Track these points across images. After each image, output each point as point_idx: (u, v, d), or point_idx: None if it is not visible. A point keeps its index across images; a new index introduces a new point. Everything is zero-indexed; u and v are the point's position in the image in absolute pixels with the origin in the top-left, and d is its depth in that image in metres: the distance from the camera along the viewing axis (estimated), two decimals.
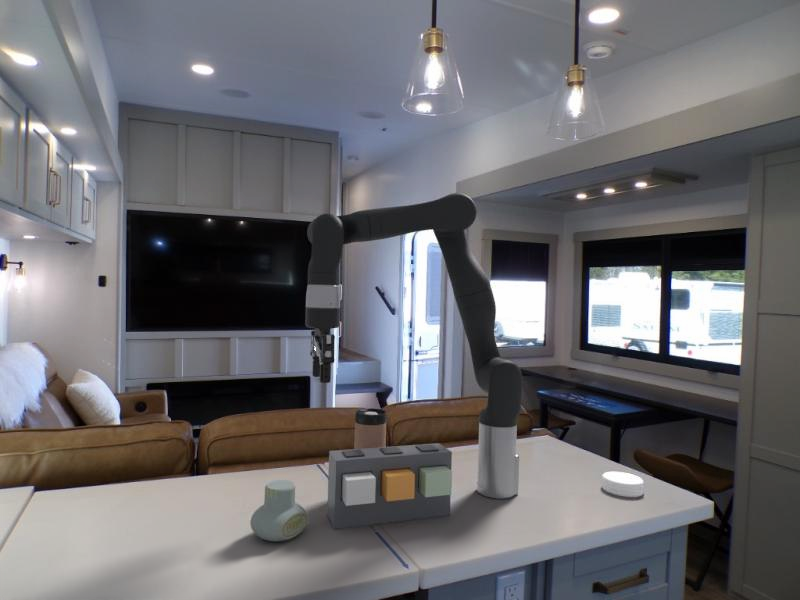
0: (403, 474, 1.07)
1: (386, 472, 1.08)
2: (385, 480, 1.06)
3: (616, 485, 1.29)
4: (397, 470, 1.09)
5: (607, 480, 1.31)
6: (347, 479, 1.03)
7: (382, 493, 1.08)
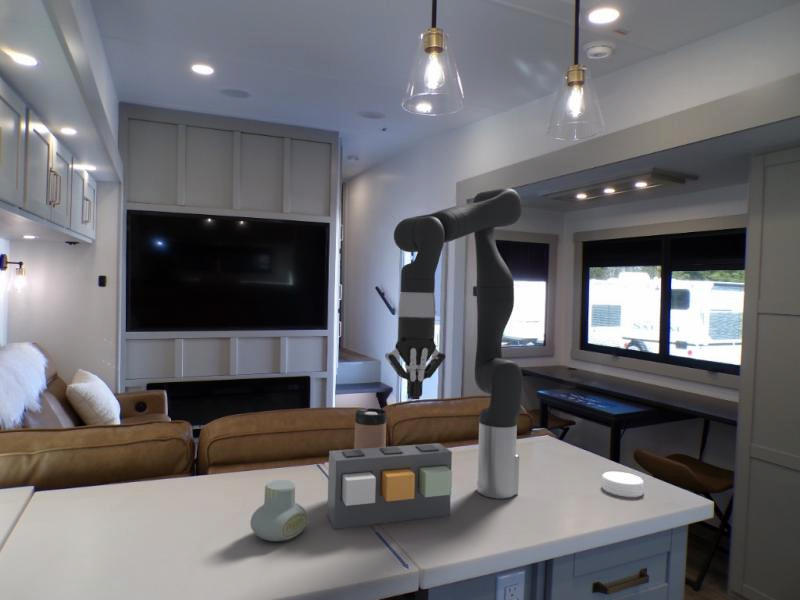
0: (403, 474, 1.07)
1: (386, 472, 1.08)
2: (385, 480, 1.06)
3: (616, 485, 1.29)
4: (397, 470, 1.09)
5: (607, 480, 1.31)
6: (347, 479, 1.03)
7: (382, 493, 1.08)
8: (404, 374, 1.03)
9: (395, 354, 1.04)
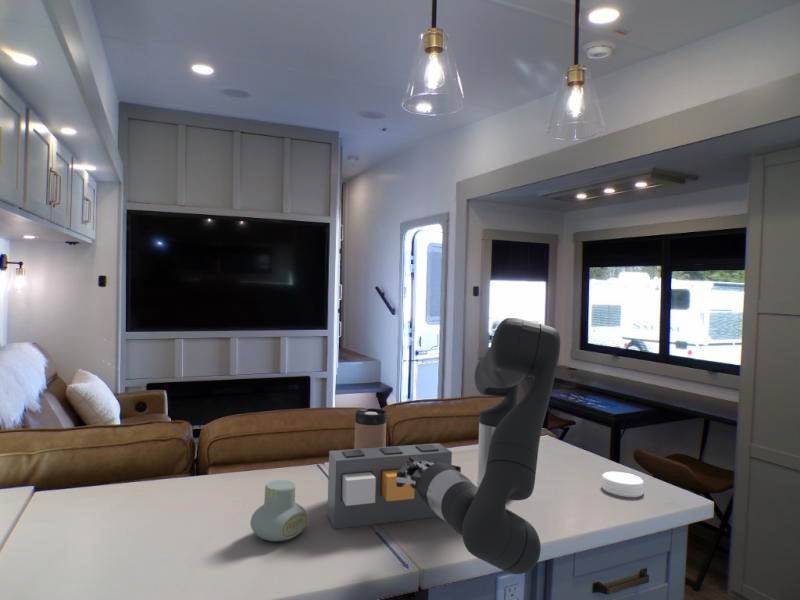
0: None
1: (386, 472, 1.08)
2: (385, 480, 1.06)
3: (616, 485, 1.29)
4: (397, 470, 1.09)
5: (607, 480, 1.31)
6: (347, 479, 1.03)
7: (382, 493, 1.08)
8: None
9: None
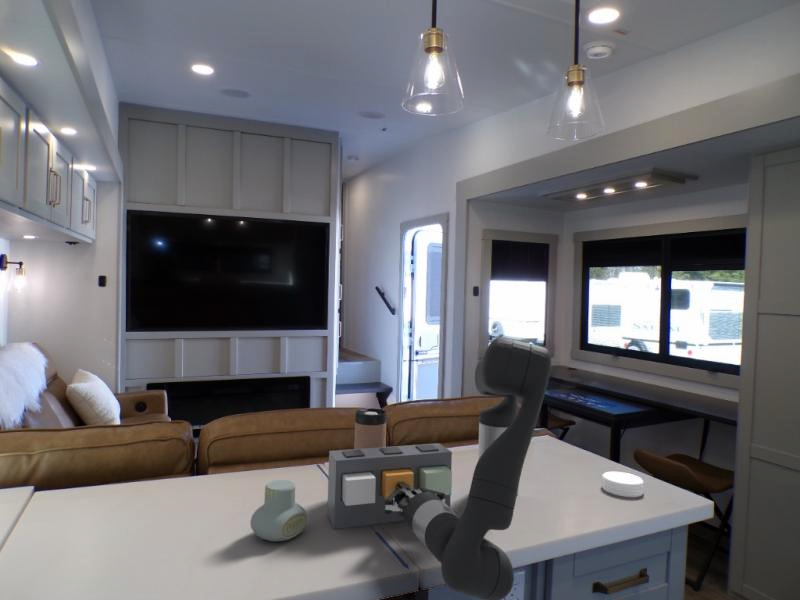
0: (402, 473, 1.07)
1: (385, 471, 1.08)
2: (384, 478, 1.07)
3: (616, 485, 1.29)
4: (395, 469, 1.10)
5: (607, 480, 1.31)
6: (347, 479, 1.03)
7: (381, 492, 1.08)
8: None
9: None
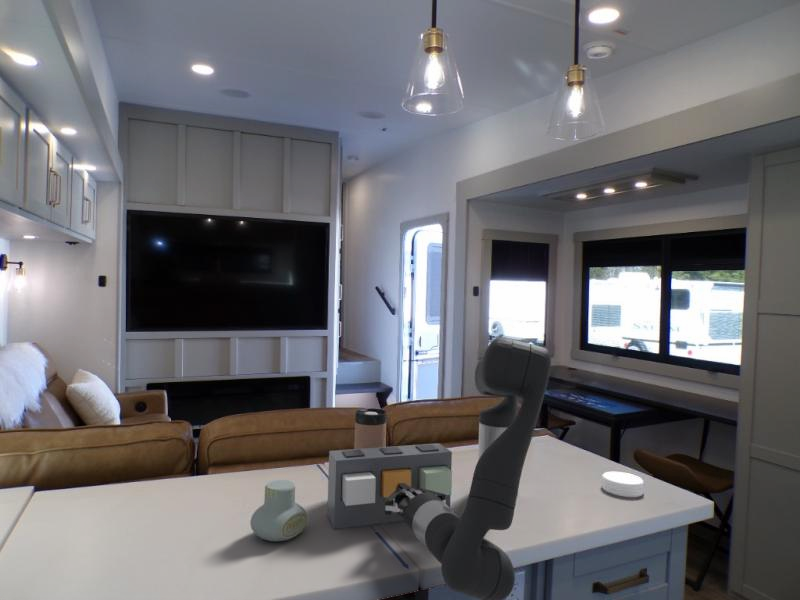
0: (399, 471, 1.09)
1: None
2: (382, 476, 1.08)
3: (616, 485, 1.29)
4: None
5: (607, 480, 1.31)
6: (347, 479, 1.03)
7: None
8: None
9: None
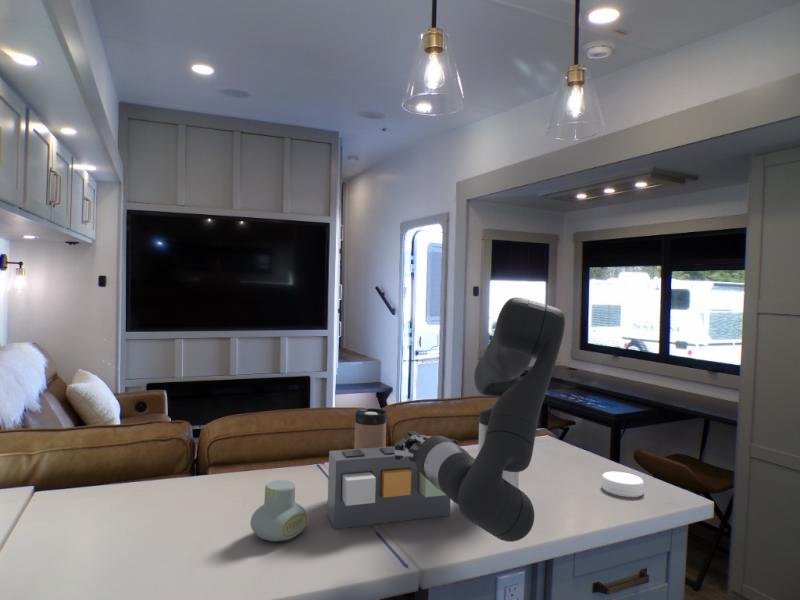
0: (399, 471, 1.09)
1: None
2: (382, 476, 1.08)
3: (616, 485, 1.29)
4: None
5: (607, 480, 1.31)
6: (347, 479, 1.03)
7: None
8: None
9: None
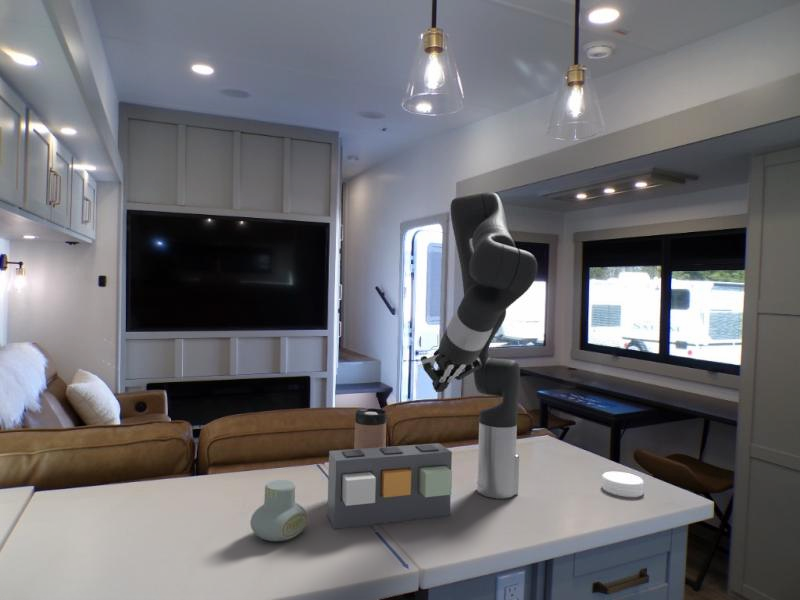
0: (399, 471, 1.09)
1: None
2: (382, 476, 1.08)
3: (616, 485, 1.29)
4: None
5: (607, 480, 1.31)
6: (347, 479, 1.03)
7: None
8: (434, 378, 1.00)
9: (431, 363, 0.97)
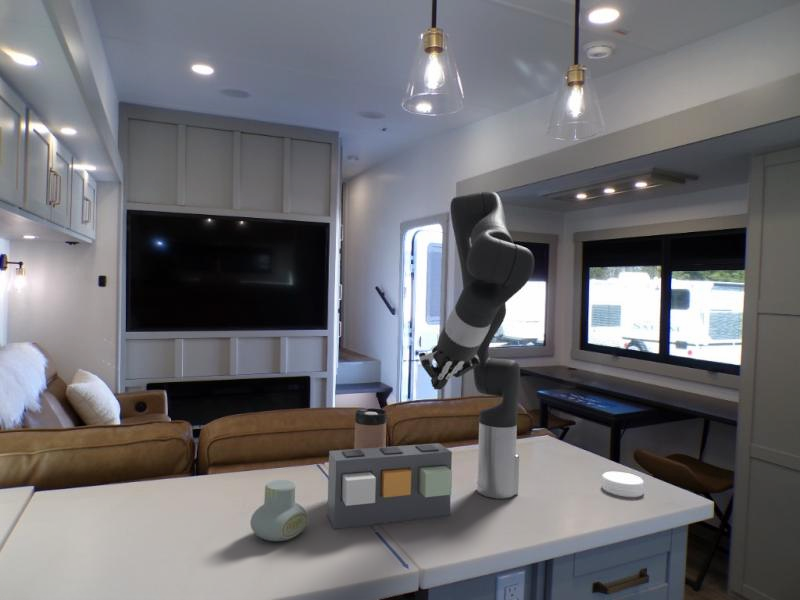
0: (399, 471, 1.09)
1: None
2: (382, 476, 1.08)
3: (616, 485, 1.29)
4: None
5: (607, 480, 1.31)
6: (347, 479, 1.03)
7: None
8: (433, 375, 1.00)
9: (429, 359, 0.97)
